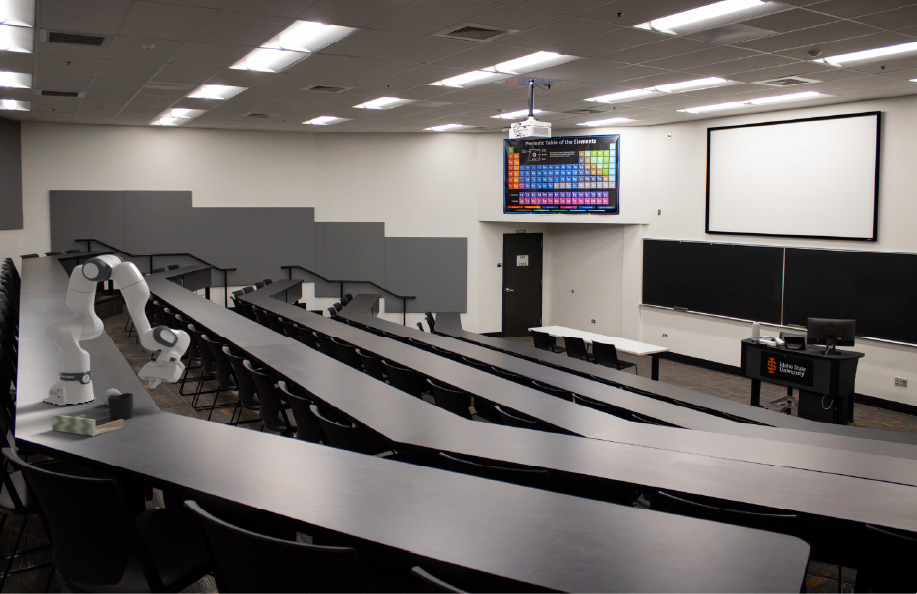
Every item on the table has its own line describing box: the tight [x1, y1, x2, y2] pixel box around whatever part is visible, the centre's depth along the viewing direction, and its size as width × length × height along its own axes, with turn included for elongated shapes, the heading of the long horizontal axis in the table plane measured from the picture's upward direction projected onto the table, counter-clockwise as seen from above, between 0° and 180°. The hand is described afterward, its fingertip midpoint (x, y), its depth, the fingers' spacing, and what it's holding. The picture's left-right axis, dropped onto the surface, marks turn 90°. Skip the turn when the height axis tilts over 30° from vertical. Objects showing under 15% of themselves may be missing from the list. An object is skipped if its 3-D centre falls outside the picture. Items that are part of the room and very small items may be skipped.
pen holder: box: [108, 392, 134, 422], centre depth 288 cm, size 9×9×10 cm
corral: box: [51, 413, 125, 437], centre depth 273 cm, size 21×15×6 cm
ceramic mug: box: [102, 388, 122, 407], centre depth 312 cm, size 11×8×8 cm
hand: (150, 387), depth 303 cm, fingers closed
